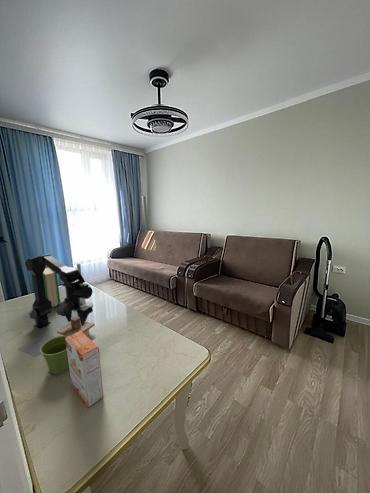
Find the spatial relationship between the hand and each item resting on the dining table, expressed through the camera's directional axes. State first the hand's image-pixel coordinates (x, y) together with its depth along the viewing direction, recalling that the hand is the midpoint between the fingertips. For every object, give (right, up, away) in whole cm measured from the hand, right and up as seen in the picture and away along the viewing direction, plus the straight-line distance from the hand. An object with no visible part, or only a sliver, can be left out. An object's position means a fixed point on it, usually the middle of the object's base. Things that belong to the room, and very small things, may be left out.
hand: (76, 323), depth 106 cm
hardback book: (-37, 0, +38) cm, 53 cm away
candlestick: (-13, -1, +33) cm, 36 cm away
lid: (0, -3, +1) cm, 3 cm away
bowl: (0, -8, +2) cm, 8 cm away
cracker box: (+19, -14, -29) cm, 38 cm away
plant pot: (+3, -12, -19) cm, 23 cm away
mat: (-15, -9, -5) cm, 18 cm away
